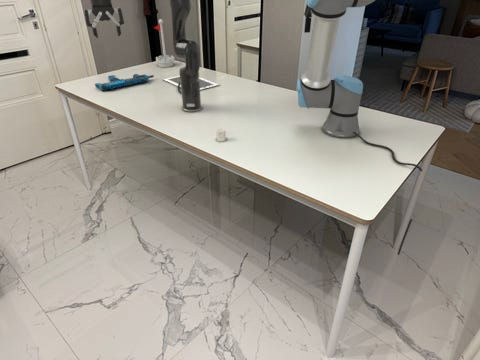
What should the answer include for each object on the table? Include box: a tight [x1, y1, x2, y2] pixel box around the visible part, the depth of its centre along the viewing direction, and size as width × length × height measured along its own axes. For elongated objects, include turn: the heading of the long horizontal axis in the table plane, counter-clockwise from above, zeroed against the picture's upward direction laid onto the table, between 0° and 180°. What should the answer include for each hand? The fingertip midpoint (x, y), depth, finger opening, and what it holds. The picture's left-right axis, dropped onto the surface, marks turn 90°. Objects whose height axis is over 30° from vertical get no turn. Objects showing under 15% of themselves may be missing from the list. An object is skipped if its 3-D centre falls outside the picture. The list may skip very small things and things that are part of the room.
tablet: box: [162, 75, 220, 91], centre depth 208 cm, size 32×20×1 cm, turn 41°
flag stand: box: [153, 18, 176, 68], centre depth 235 cm, size 13×13×30 cm
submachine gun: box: [94, 73, 155, 91], centre depth 208 cm, size 34×4×25 cm
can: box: [216, 128, 227, 142], centre depth 142 cm, size 4×4×4 cm
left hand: (108, 36), depth 139 cm, fingers open, 8 cm apart
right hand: (311, 35), depth 161 cm, fingers open, 13 cm apart
